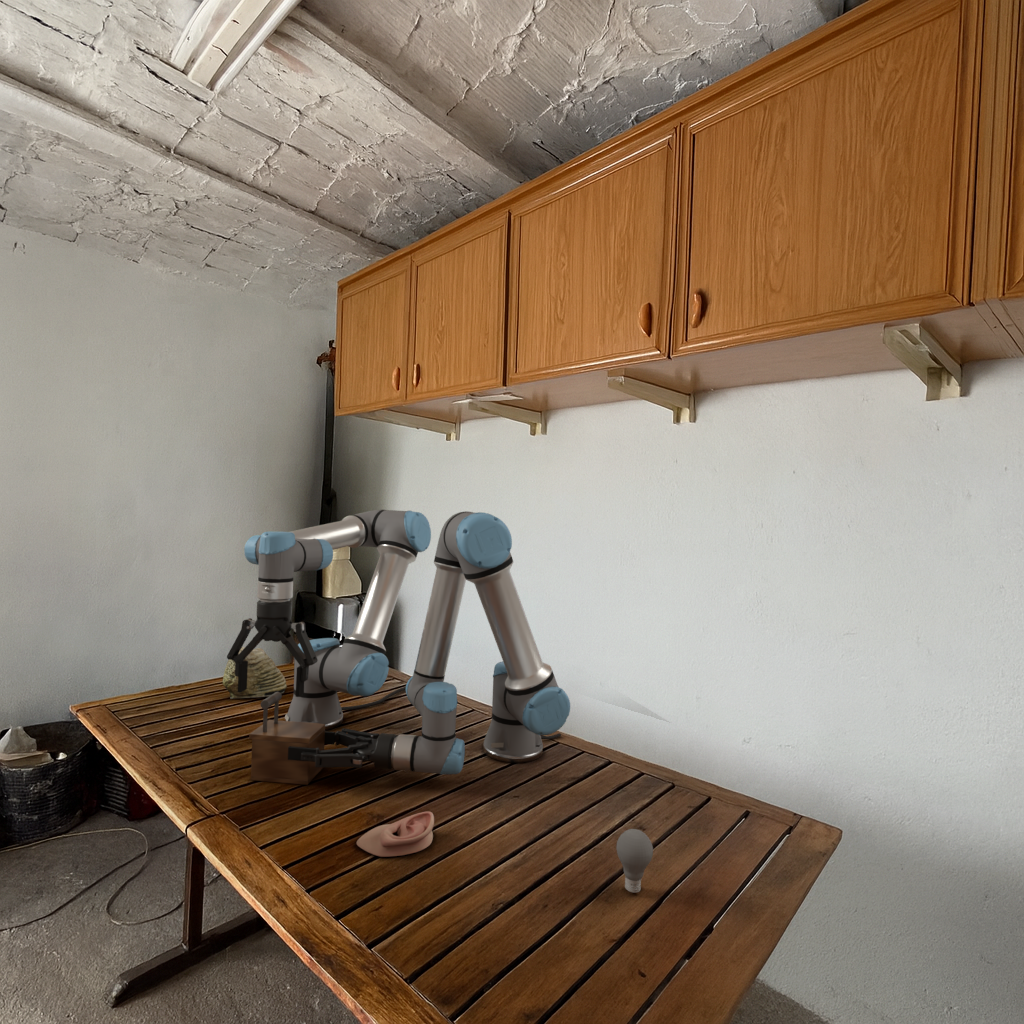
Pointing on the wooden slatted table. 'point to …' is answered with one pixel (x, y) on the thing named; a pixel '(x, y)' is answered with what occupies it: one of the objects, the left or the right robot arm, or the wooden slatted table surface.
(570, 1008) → the wooden slatted table surface
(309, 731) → the lid
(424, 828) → the anatomical model
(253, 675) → the fossil
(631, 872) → the light bulb
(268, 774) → the chest
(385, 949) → the wooden slatted table surface
